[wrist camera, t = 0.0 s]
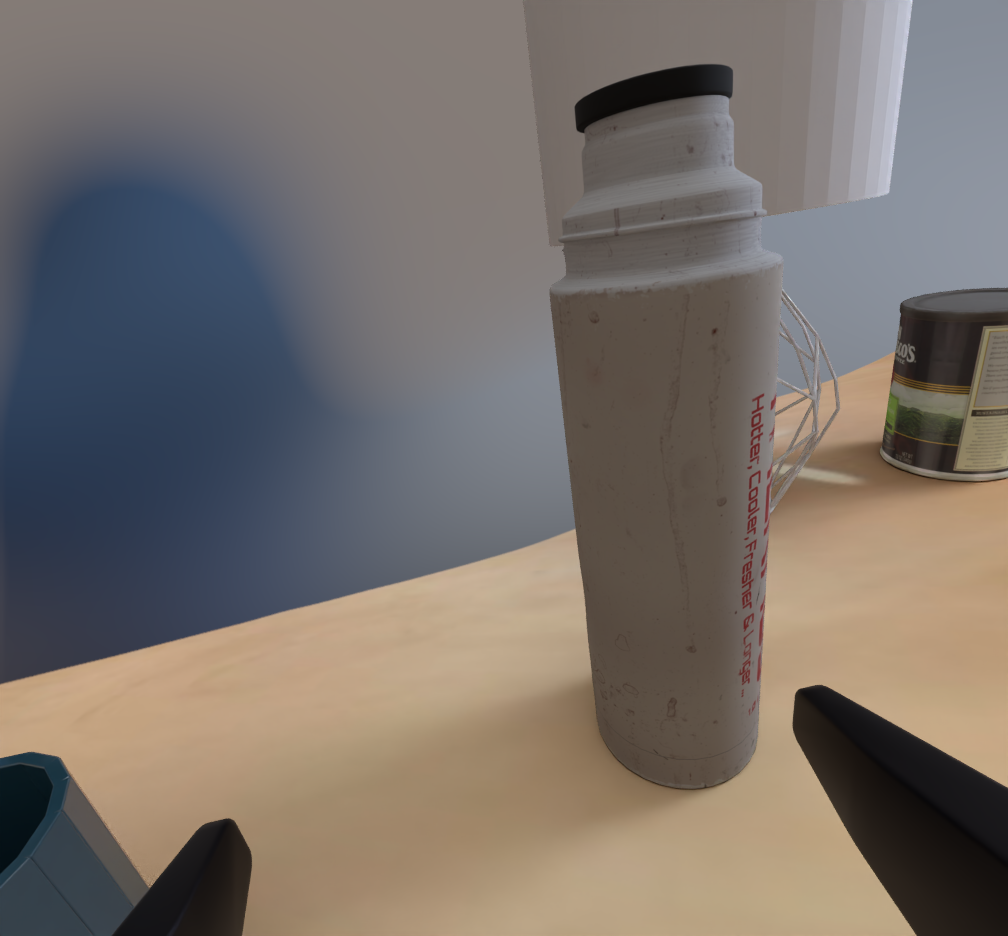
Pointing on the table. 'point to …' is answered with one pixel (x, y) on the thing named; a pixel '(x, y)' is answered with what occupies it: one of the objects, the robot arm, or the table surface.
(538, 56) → the table lamp
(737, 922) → the table surface
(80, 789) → the pencil cup
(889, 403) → the coffee can
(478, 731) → the table surface
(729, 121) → the thermos bottle
